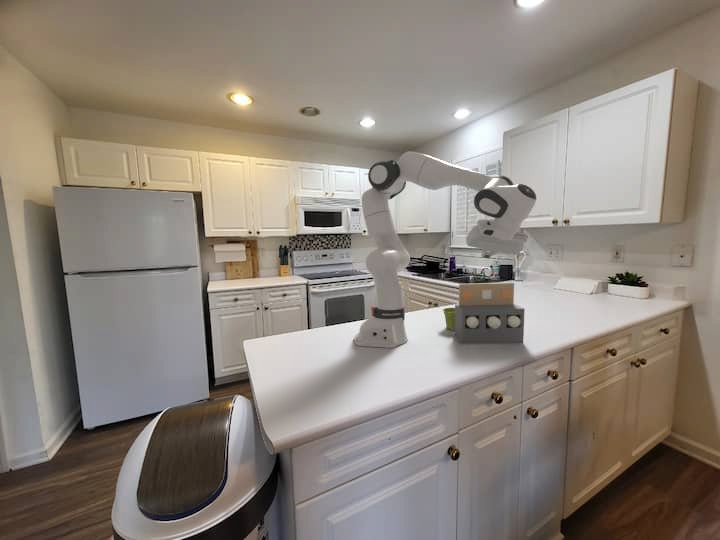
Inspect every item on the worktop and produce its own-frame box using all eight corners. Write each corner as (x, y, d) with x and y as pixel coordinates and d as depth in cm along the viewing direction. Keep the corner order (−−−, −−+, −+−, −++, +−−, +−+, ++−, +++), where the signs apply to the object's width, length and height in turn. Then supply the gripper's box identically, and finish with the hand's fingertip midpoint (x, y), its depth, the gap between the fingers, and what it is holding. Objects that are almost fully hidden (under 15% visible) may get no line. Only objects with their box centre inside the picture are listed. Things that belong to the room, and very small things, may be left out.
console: (461, 344, 118) (462, 287, 115) (454, 335, 128) (455, 283, 125) (523, 343, 117) (525, 286, 114) (511, 334, 126) (513, 281, 124)
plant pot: (440, 330, 135) (440, 311, 134) (445, 324, 144) (445, 306, 143) (462, 332, 131) (462, 313, 130) (465, 326, 139) (465, 308, 138)
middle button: (489, 328, 114) (489, 317, 114) (485, 325, 118) (485, 315, 117) (500, 328, 114) (500, 317, 114) (496, 325, 118) (497, 315, 117)
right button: (508, 327, 115) (509, 316, 115) (504, 324, 119) (504, 314, 118) (520, 327, 115) (520, 316, 115) (515, 324, 119) (516, 313, 118)
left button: (467, 328, 116) (467, 317, 115) (464, 325, 120) (464, 314, 119) (478, 328, 116) (478, 317, 115) (475, 325, 119) (475, 314, 119)
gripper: (528, 229, 108) (508, 256, 118) (474, 218, 107) (459, 247, 117) (533, 240, 104) (512, 267, 114) (477, 229, 103) (461, 257, 113)
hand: (485, 257), depth 115 cm, fingers closed
